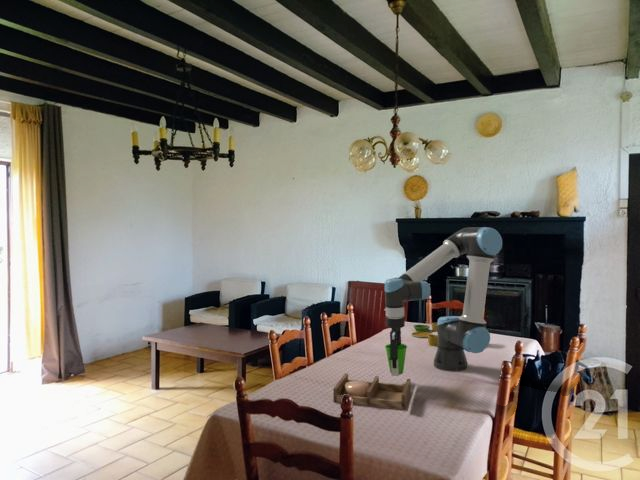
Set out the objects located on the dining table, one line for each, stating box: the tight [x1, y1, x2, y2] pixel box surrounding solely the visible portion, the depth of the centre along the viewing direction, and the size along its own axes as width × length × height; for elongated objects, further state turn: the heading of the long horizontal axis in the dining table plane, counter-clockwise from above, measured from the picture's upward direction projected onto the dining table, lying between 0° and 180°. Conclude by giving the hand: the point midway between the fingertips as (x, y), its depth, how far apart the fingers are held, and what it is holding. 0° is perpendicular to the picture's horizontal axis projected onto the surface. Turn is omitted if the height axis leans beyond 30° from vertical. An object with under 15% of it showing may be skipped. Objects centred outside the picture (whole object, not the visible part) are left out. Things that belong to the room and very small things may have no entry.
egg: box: [345, 380, 369, 397], centre depth 178 cm, size 9×9×4 cm
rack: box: [332, 373, 411, 411], centre depth 177 cm, size 26×18×6 cm
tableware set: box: [411, 322, 438, 347], centre depth 272 cm, size 41×28×6 cm
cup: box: [384, 343, 408, 375], centre depth 191 cm, size 9×9×11 cm
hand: (396, 371), depth 191 cm, fingers closed on cup, 9 cm apart
